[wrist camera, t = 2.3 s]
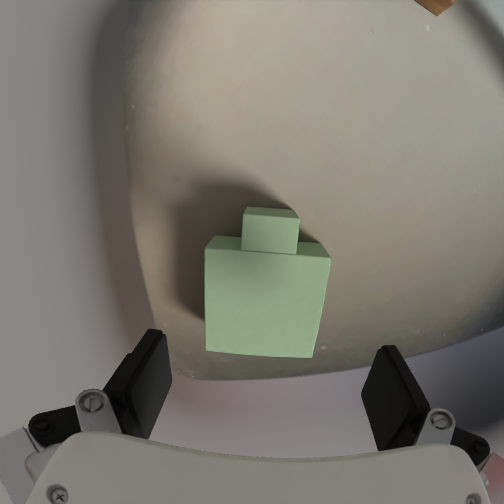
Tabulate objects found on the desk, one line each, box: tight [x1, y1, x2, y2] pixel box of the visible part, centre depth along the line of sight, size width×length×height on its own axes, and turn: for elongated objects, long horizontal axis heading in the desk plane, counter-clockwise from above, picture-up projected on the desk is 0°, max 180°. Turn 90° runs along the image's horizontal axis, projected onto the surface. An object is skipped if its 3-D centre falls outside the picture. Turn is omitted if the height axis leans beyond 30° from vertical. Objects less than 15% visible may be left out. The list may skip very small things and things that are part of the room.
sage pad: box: [204, 206, 331, 358], centre depth 17 cm, size 7×9×3 cm
